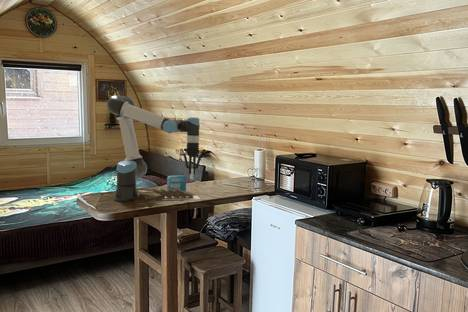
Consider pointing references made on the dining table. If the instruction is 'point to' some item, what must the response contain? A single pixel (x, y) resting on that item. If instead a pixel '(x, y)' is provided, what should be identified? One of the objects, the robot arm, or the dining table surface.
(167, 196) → the domino
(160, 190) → the domino
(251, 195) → the dining table surface
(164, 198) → the domino
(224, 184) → the dining table surface
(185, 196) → the domino
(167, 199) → the board
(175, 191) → the domino
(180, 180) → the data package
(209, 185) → the dining table surface
